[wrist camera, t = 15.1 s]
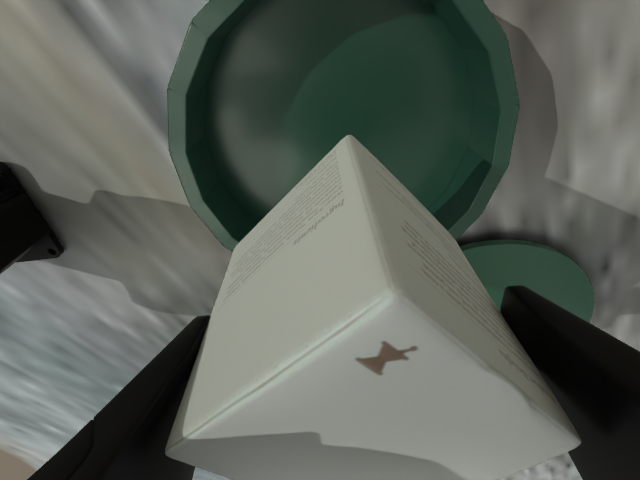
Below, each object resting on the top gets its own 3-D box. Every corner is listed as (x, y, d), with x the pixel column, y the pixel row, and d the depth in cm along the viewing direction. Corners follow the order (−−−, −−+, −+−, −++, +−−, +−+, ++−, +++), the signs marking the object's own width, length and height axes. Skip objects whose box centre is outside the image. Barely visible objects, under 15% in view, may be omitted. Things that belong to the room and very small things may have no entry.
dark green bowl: (237, 265, 23) (225, 300, 20) (141, -20, 15) (97, -29, 12) (466, 240, 22) (488, 273, 19) (508, -83, 14) (560, -111, 11)
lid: (370, 391, 32) (382, 479, 26) (358, 248, 23) (372, 331, 16) (552, 376, 30) (610, 464, 24) (616, 220, 21) (733, 297, 15)
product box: (230, 244, 13) (148, 458, 6) (350, 125, 10) (401, 283, 4) (343, 323, 15) (361, 534, 9) (460, 242, 13) (598, 452, 6)
